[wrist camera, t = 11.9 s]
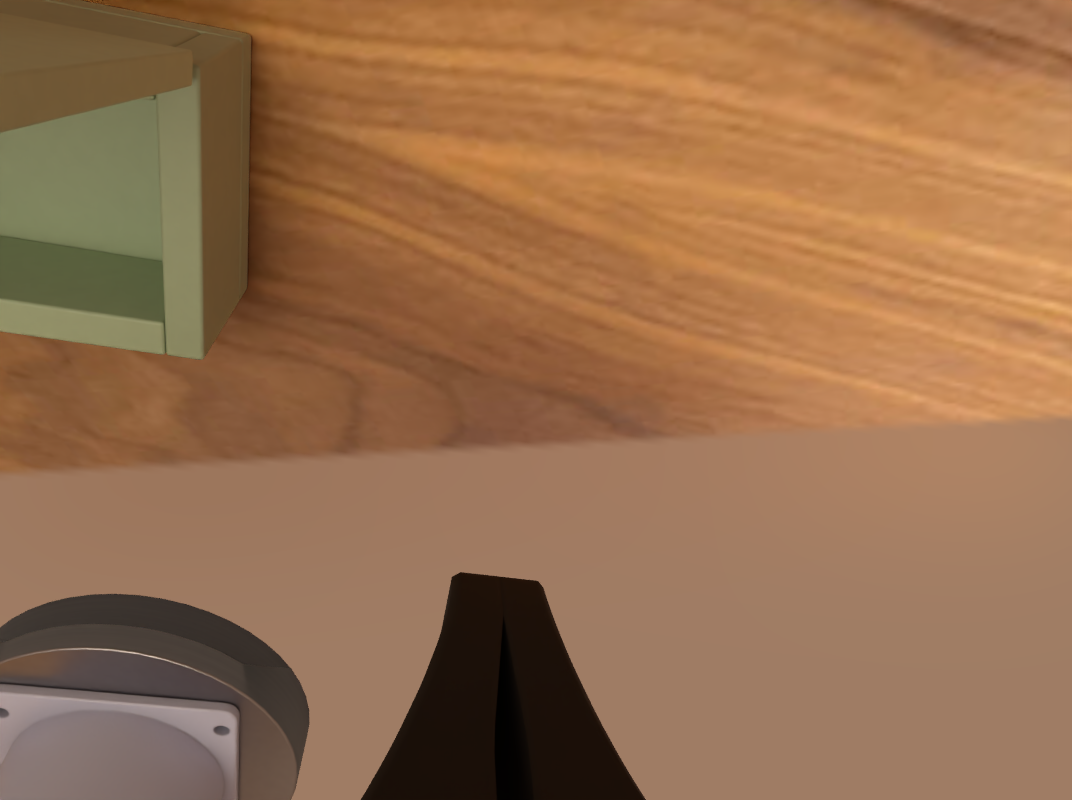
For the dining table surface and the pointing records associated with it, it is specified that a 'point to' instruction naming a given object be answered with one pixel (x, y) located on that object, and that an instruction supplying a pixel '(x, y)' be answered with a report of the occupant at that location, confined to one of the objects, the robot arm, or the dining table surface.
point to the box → (131, 199)
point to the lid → (78, 70)
